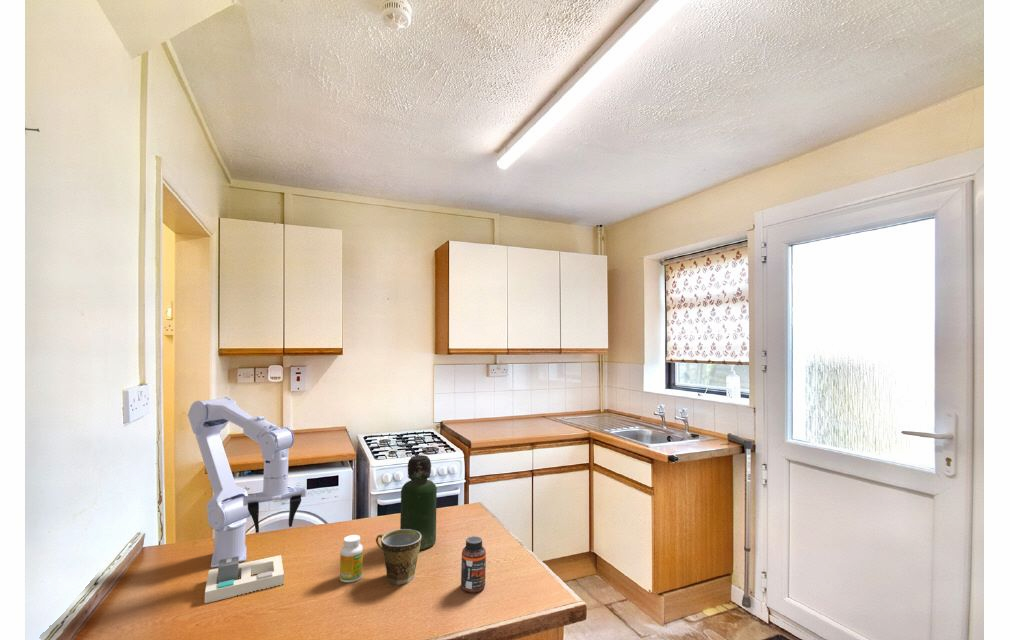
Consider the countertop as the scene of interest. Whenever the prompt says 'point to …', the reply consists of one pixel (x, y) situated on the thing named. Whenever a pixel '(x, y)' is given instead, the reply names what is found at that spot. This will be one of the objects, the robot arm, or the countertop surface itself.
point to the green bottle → (419, 501)
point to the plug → (228, 569)
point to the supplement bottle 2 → (473, 565)
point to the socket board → (246, 579)
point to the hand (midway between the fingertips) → (274, 528)
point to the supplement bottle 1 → (351, 559)
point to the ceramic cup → (400, 554)
